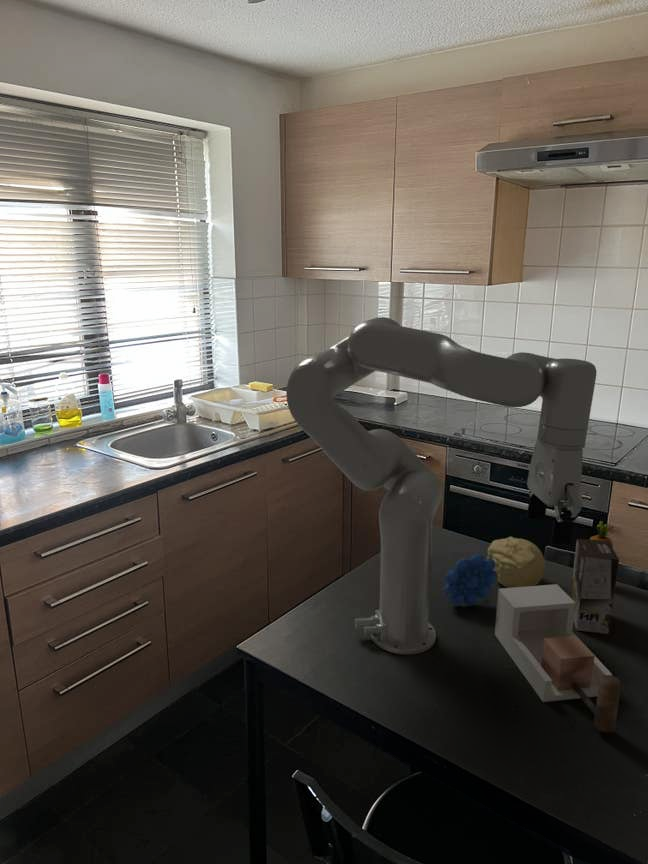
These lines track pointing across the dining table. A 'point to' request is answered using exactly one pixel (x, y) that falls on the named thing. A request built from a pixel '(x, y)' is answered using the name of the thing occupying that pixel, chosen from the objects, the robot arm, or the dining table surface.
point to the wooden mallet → (581, 677)
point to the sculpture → (517, 562)
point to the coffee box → (593, 585)
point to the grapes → (470, 580)
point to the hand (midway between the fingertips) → (547, 529)
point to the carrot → (602, 533)
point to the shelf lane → (539, 634)
